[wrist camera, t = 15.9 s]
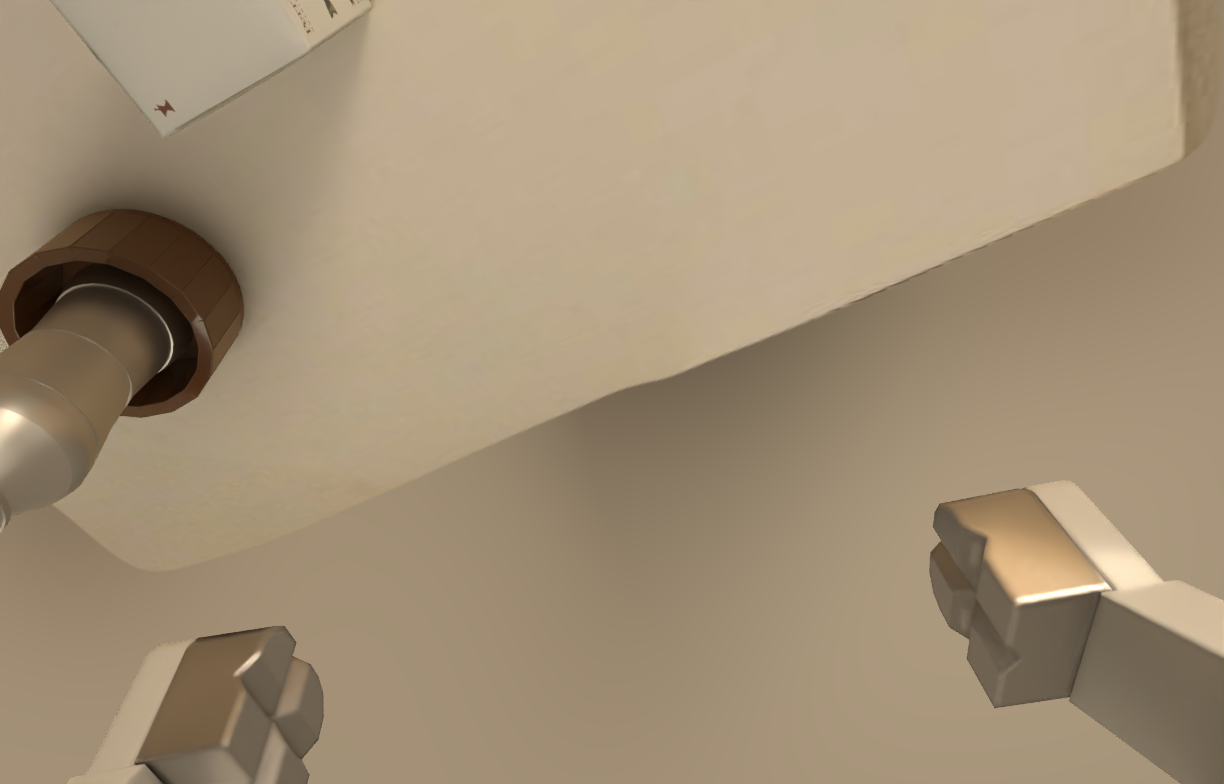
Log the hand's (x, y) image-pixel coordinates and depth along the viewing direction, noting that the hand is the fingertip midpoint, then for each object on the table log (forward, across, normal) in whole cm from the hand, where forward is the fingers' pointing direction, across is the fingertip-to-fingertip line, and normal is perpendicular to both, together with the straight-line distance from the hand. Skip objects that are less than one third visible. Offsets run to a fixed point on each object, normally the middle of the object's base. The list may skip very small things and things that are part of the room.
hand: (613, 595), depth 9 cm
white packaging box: (+37, +13, -6) cm, 40 cm away
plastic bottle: (+37, +27, +9) cm, 46 cm away
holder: (+37, +27, +9) cm, 47 cm away
